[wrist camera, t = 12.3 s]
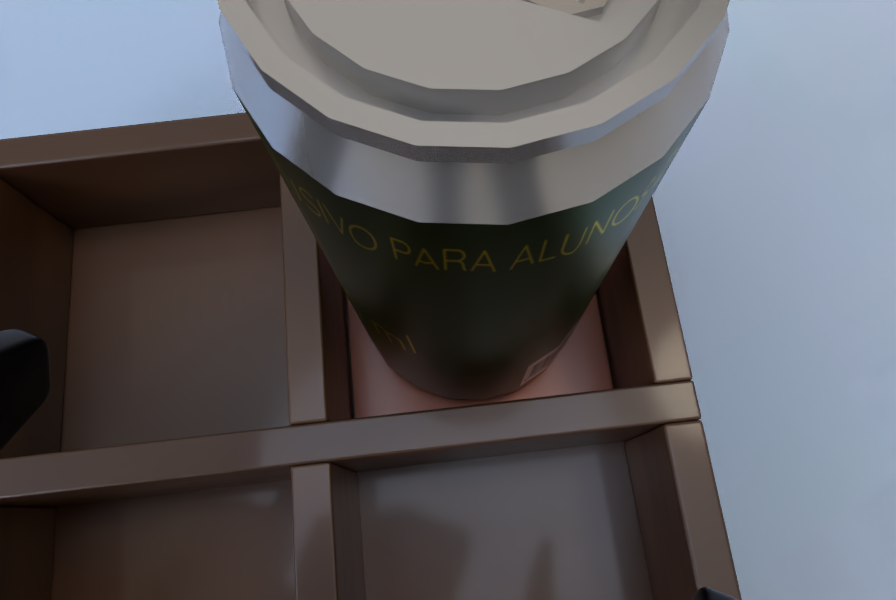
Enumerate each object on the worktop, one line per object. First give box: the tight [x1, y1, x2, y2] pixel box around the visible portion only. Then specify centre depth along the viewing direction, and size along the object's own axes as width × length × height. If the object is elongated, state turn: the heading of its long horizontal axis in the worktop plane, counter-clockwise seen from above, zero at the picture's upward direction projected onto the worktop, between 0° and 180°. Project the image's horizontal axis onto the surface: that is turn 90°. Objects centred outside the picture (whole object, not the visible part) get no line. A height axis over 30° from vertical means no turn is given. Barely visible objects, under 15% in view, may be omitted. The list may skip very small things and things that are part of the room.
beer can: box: [218, 0, 730, 400], centre depth 12 cm, size 5×5×12 cm
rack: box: [0, 113, 742, 600], centre depth 15 cm, size 16×16×4 cm
